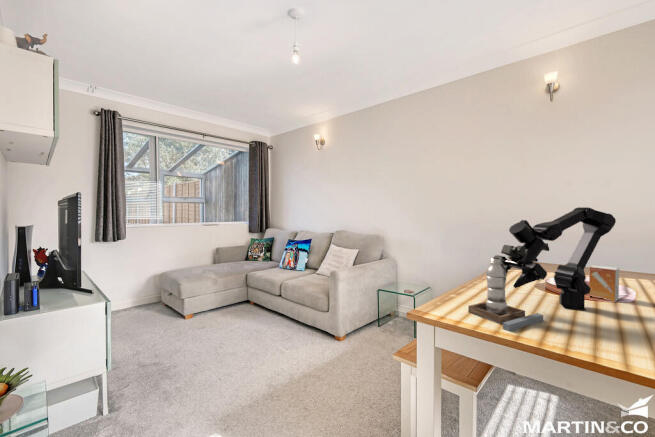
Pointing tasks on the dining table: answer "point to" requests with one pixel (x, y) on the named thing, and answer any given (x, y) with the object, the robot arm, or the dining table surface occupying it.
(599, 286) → the small box
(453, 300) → the dining table surface
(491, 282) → the plastic bottle
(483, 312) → the brown square tray
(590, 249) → the robot arm
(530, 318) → the door edge strip
